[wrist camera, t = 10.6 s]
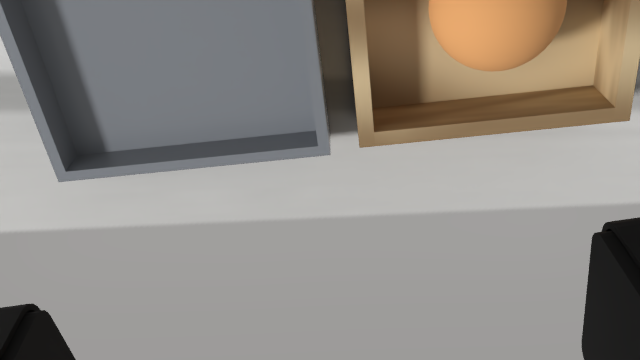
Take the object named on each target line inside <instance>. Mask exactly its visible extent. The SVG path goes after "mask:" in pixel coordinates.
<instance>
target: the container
mask: <svg viewBox="0 0 640 360" xmlns="http://www.w3.org/2000/svg"><path fill="white" fill-rule="evenodd" d="M0 36H1V38H2V41H3V43H4V46H5V48H6V51H7V53H8V56H9V58H10V61H11V63H12V66H13V68H14V71H15V73H16V76H17V78H18V81H19V83H20V86H21V88H22V91H23V93H24V96H25V98H26V101H27V103H28V106H29V109H30V111H31V114H32V116H33V119H34V121H35V124H36V126H37V129H38V131H39V134H40V136H41V139H42V141H43V144H44V146H45V149H46V151H47V154H48V156H49V159H50V161H51V164H52V166H53V169H54V171H55V174H56V176H57V179H58V181H59V182H65V181H75V180H85V179H95V178H105V177H115V176H125V175H135V174H145V173H155V172H165V171H175V170H185V169H195V168H205V167H215V166H225V165H234V164H244V163H254V162H264V161H274V160H284V159H294V158H304V157H314V156H324V155H330V129H329V121H328V113H327V105H326V96H325V88H324V80H323V72H322V63H321V55H320V47H319V39H318V31H317V22H316V14H315V6H314V0H0Z"/></svg>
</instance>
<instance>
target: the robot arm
mask: <svg viewBox="0 0 640 360" xmlns="http://www.w3.org/2000/svg"><path fill="white" fill-rule="evenodd" d="M582 352H583V357H584V360H640V218H633V219H626V220H619V221H612V222H607V223H605V224H604V226H603V229H602V232H598V233H594V235H593V237H592V244H591V254H590V264H589V275H588V285H587V294H586V304H585V314H584V325H583V335H582ZM0 360H75V358H74V356H73V354H72V353H71V351H70V349H69V347H68V346H67V344H66V342H65V340H64V339H63V337H62V335H61V333H60V332H59V330H58V328H57V326H56V325H55V323H54V321H53V319H52V318H51V316H50V315H49V313H48V312H46V311H45V310H43V311H41V310H40V309H39V308H38V306H36V305H34V304H25V305H18V306H11V307H3V308H0Z"/></svg>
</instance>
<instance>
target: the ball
mask: <svg viewBox="0 0 640 360" xmlns="http://www.w3.org/2000/svg"><path fill="white" fill-rule="evenodd" d="M566 7H567V0H429V7H428V10H429V19H430V23H431V27H432V30H433V33H434V35H435V37H436V39H437V41H438V42H439V44H440V45H441V47H442V48H443V49H444V50H445V52H446V53H448V54H449V55H450V56H451V57H452V58H453V59H455V60H456V61H458V62H459V63H461V64H463V65H465V66H467V67H470V68H473V69H477V70H482V71H491V72H492V71H504V70H509V69H512V68H516V67H518V66H521V65H523V64H525V63H527V62H529V61H531V60H532V59H534V58H535V57H536V56H538V55H539V54H540V53H541V52H542V51H544V50H545V49H546V47H547V46H548V45H549V44H550V43H551V42H552V40H553V39H554V38H555V36H556V34H557V33H558V31H559V29H560V27H561V25H562V22H563V20H564V16H565V13H566Z"/></svg>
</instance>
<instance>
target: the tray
mask: <svg viewBox="0 0 640 360" xmlns="http://www.w3.org/2000/svg"><path fill="white" fill-rule="evenodd" d="M345 1H346V12H347V23H348V33H349V44H350V54H351V65H352V75H353V86H354V96H355V107H356V117H357V127H358V136H359V146H360V148H362V147H372V146H382V145H392V144H401V143H411V142H421V141H431V140H441V139H451V138H461V137H471V136H481V135H491V134H501V133H511V132H521V131H531V130H541V129H551V128H561V127H571V126H581V125H591V124H600V123H610V122H620V121H630V114H631V108H632V102H633V96H634V90H635V83H636V77H637V71H638V65H639V58H640V0H567V7H566V13H565V16H564V20H563V22H562V25H561V27H560V29H559V31H558V33H557V34H556V36H555V38H554V39H553V40H552V42H551V43H550V44H549V45H548V46H547V47H546V49H545V50H544V51H542V52H541V53H540V54H539V55H538V56H536V57H535V58H534V59H532V60H531V61H529V62H527V63H525V64H523V65H521V66H518V67H516V68H512V69H509V70H504V71H492V72H491V71H482V70H477V69H473V68H470V67H467V66H465V65H463V64H461V63H459V62H458V61H456V60H455V59H453V58H452V57H451V56H450V55H449V54H448V53H446V52H445V50H444V49H443V48H442V47H441V45H440V44H439V42H438V41H437V39H436V37H435V35H434V33H433V30H432V27H431V23H430V19H429V10H428V7H429V0H345Z"/></svg>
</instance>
